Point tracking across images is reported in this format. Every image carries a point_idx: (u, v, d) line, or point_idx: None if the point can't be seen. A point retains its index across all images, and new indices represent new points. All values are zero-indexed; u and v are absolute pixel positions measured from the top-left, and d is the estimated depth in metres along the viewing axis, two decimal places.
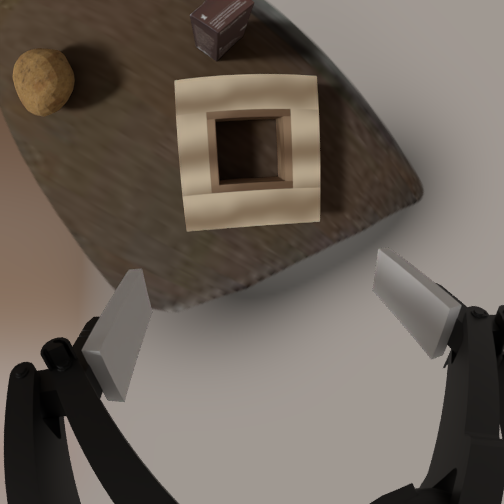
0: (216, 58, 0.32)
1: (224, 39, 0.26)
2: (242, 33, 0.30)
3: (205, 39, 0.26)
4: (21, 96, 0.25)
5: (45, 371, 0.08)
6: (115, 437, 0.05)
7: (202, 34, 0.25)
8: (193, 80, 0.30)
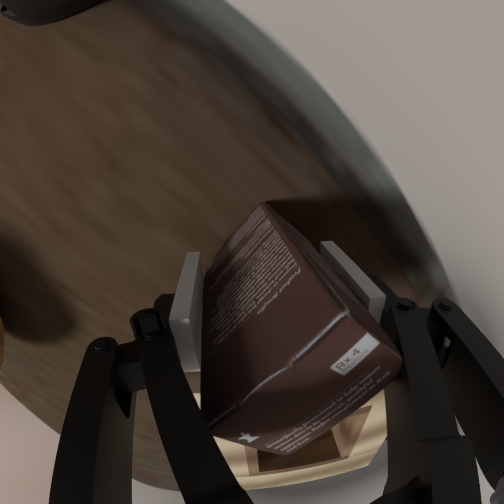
0: None
1: None
2: None
3: None
4: None
5: (124, 345, 0.09)
6: (193, 411, 0.06)
7: None
8: None
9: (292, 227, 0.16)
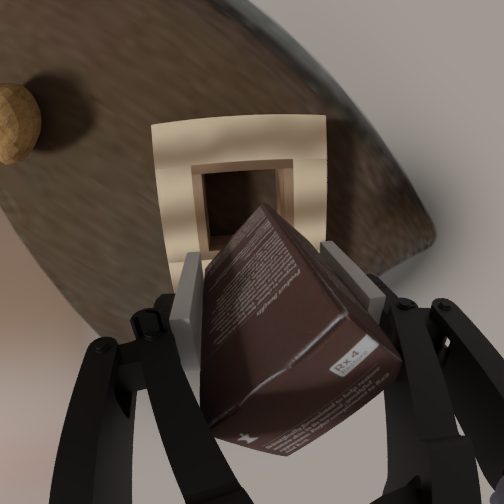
0: None
1: None
2: None
3: None
4: None
5: (124, 345, 0.09)
6: (193, 411, 0.06)
7: None
8: (173, 125, 0.26)
9: (292, 228, 0.16)
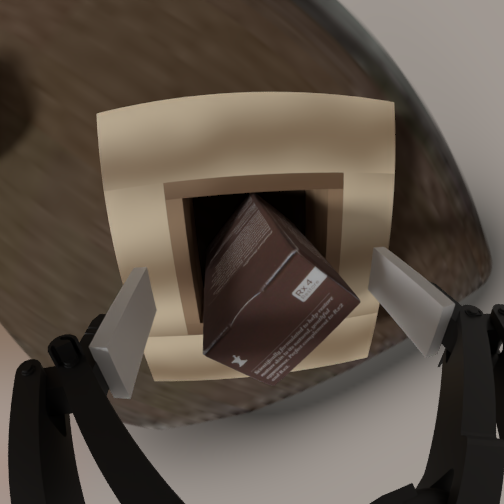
0: None
1: None
2: None
3: None
4: None
5: (51, 368, 0.08)
6: (121, 434, 0.05)
7: None
8: (133, 111, 0.13)
9: (276, 210, 0.20)
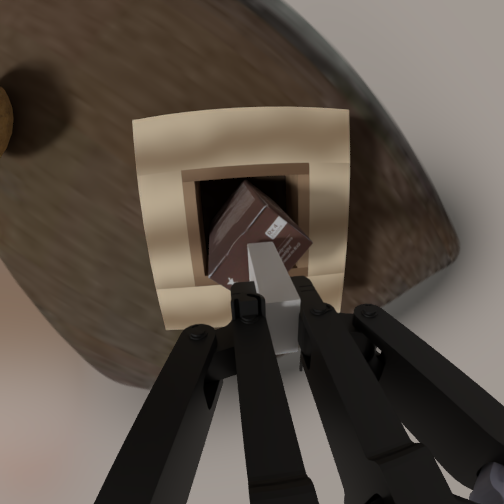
0: None
1: None
2: None
3: None
4: None
5: (215, 331, 0.10)
6: (278, 396, 0.07)
7: None
8: (160, 119, 0.20)
9: (262, 192, 0.27)
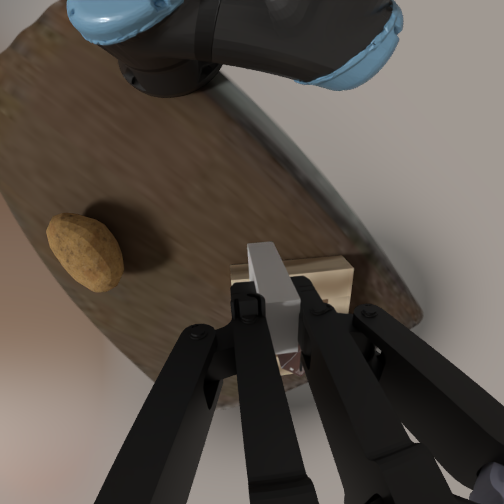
0: None
1: None
2: None
3: None
4: (68, 272, 0.34)
5: (215, 331, 0.10)
6: (278, 396, 0.07)
7: None
8: None
9: None
